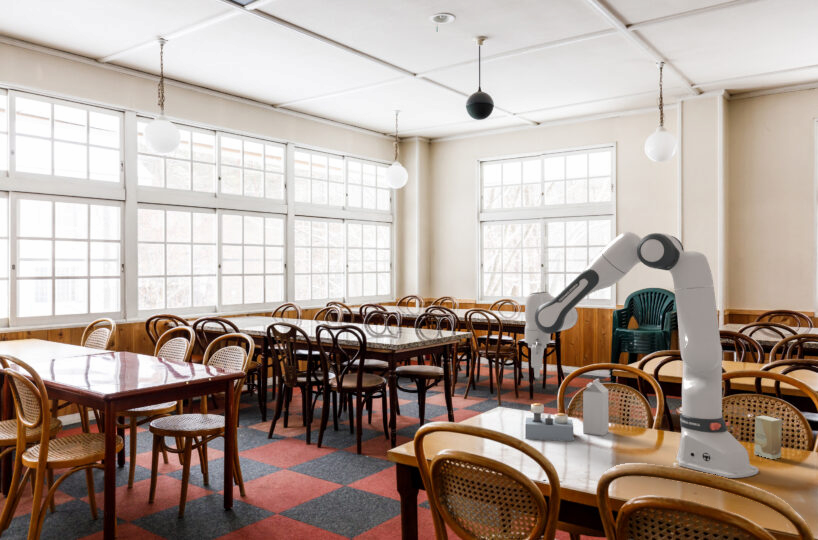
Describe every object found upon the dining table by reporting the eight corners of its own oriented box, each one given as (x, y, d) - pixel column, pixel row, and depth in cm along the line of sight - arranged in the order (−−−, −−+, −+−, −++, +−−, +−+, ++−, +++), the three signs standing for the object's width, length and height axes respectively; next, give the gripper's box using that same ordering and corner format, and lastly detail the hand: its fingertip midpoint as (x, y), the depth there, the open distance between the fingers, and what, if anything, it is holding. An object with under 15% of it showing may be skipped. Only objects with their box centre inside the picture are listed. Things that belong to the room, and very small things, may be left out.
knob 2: (567, 434, 222) (567, 413, 222) (567, 438, 218) (567, 415, 218) (554, 434, 223) (554, 412, 223) (554, 437, 219) (554, 415, 219)
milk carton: (608, 431, 227) (608, 379, 227) (603, 436, 221) (603, 382, 221) (588, 429, 231) (588, 377, 231) (582, 433, 225) (583, 380, 225)
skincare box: (753, 455, 199) (753, 416, 199) (763, 453, 200) (763, 414, 200) (772, 460, 193) (772, 420, 193) (782, 459, 195) (782, 419, 195)
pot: (552, 423, 219) (552, 413, 219) (553, 425, 217) (553, 415, 217) (545, 423, 220) (545, 413, 220) (545, 424, 217) (545, 414, 217)
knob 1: (543, 424, 224) (543, 403, 224) (543, 427, 220) (543, 405, 220) (531, 424, 225) (531, 402, 225) (530, 427, 221) (530, 405, 221)
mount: (572, 433, 225) (572, 419, 225) (573, 441, 215) (573, 426, 215) (526, 431, 228) (526, 417, 228) (525, 438, 218) (525, 424, 218)
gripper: (546, 341, 211) (546, 382, 211) (546, 335, 231) (546, 372, 231) (527, 340, 213) (526, 381, 213) (529, 334, 233) (528, 372, 233)
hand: (536, 377), depth 222 cm, fingers closed
